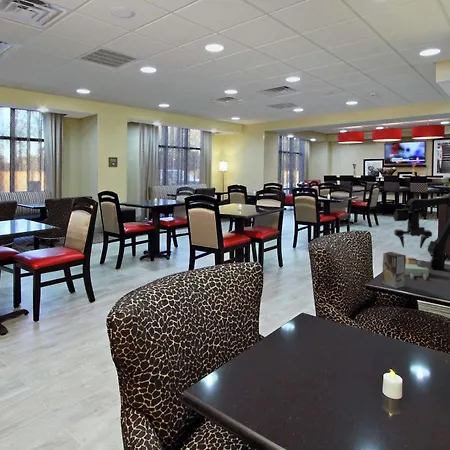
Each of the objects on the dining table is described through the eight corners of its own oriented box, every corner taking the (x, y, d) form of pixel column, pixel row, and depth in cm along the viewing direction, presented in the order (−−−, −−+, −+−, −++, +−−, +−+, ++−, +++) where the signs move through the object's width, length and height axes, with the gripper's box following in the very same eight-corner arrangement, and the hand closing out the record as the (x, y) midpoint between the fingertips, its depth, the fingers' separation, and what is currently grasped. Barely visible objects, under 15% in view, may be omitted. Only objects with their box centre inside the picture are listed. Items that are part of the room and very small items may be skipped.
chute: (412, 267, 227) (413, 256, 226) (415, 270, 220) (416, 259, 219) (405, 267, 228) (406, 255, 227) (408, 270, 221) (408, 258, 220)
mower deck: (424, 271, 218) (425, 260, 217) (432, 280, 202) (433, 268, 201) (401, 270, 220) (401, 259, 219) (407, 279, 205) (407, 267, 204)
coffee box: (404, 286, 193) (406, 255, 191) (395, 288, 191) (397, 256, 188) (390, 281, 202) (391, 251, 199) (381, 283, 199) (382, 252, 196)
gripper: (398, 222, 214) (397, 250, 217) (435, 223, 210) (433, 251, 212) (394, 219, 225) (393, 246, 227) (430, 220, 220) (428, 247, 223)
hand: (411, 247), depth 222 cm, fingers open, 9 cm apart
